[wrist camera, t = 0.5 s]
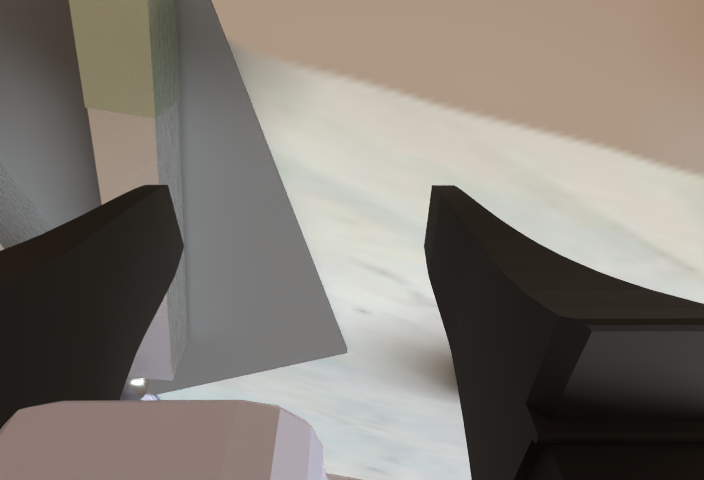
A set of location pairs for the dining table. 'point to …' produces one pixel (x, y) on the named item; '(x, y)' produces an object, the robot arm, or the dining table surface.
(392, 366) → the dining table surface
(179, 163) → the hinged arm
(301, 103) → the dining table surface
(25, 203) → the fixed arm
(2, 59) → the mat
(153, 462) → the robot arm
